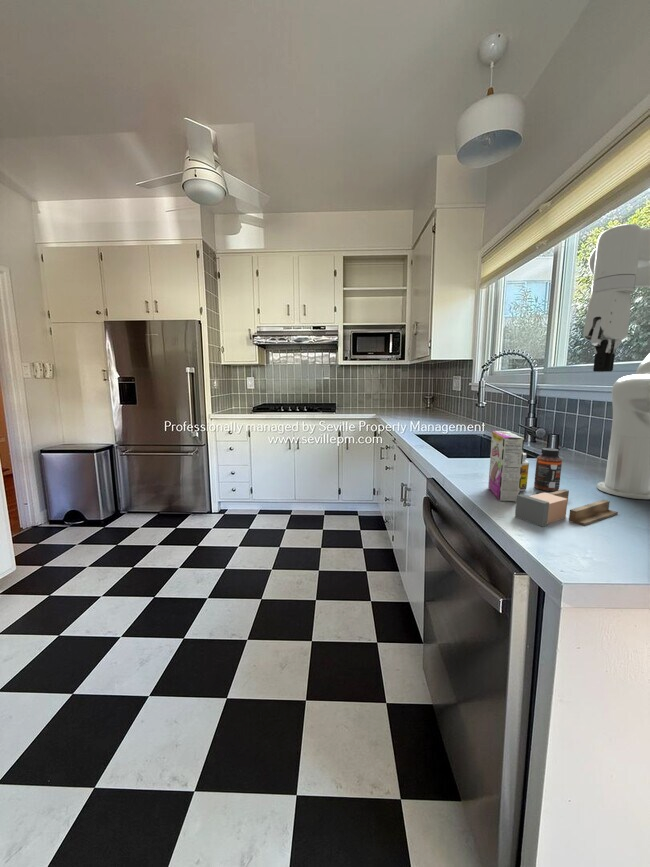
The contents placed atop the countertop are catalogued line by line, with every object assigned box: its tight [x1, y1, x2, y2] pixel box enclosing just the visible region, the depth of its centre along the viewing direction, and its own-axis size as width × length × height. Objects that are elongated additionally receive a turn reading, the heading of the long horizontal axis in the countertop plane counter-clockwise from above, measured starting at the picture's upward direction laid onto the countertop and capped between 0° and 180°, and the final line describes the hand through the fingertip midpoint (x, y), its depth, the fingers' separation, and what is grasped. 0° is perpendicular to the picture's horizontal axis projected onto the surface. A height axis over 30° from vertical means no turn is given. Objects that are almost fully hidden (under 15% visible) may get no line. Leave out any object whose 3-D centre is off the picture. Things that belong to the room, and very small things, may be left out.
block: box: [529, 491, 569, 524], centre depth 77 cm, size 8×5×4 cm, turn 118°
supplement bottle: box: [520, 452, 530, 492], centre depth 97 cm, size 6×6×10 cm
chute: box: [547, 489, 618, 526], centre depth 81 cm, size 14×13×2 cm
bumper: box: [514, 493, 549, 528], centre depth 74 cm, size 2×6×5 cm, turn 28°
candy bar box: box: [487, 430, 525, 503], centre depth 91 cm, size 11×5×16 cm, turn 169°
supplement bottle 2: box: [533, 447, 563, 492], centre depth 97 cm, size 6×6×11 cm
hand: (602, 371), depth 80 cm, fingers closed
